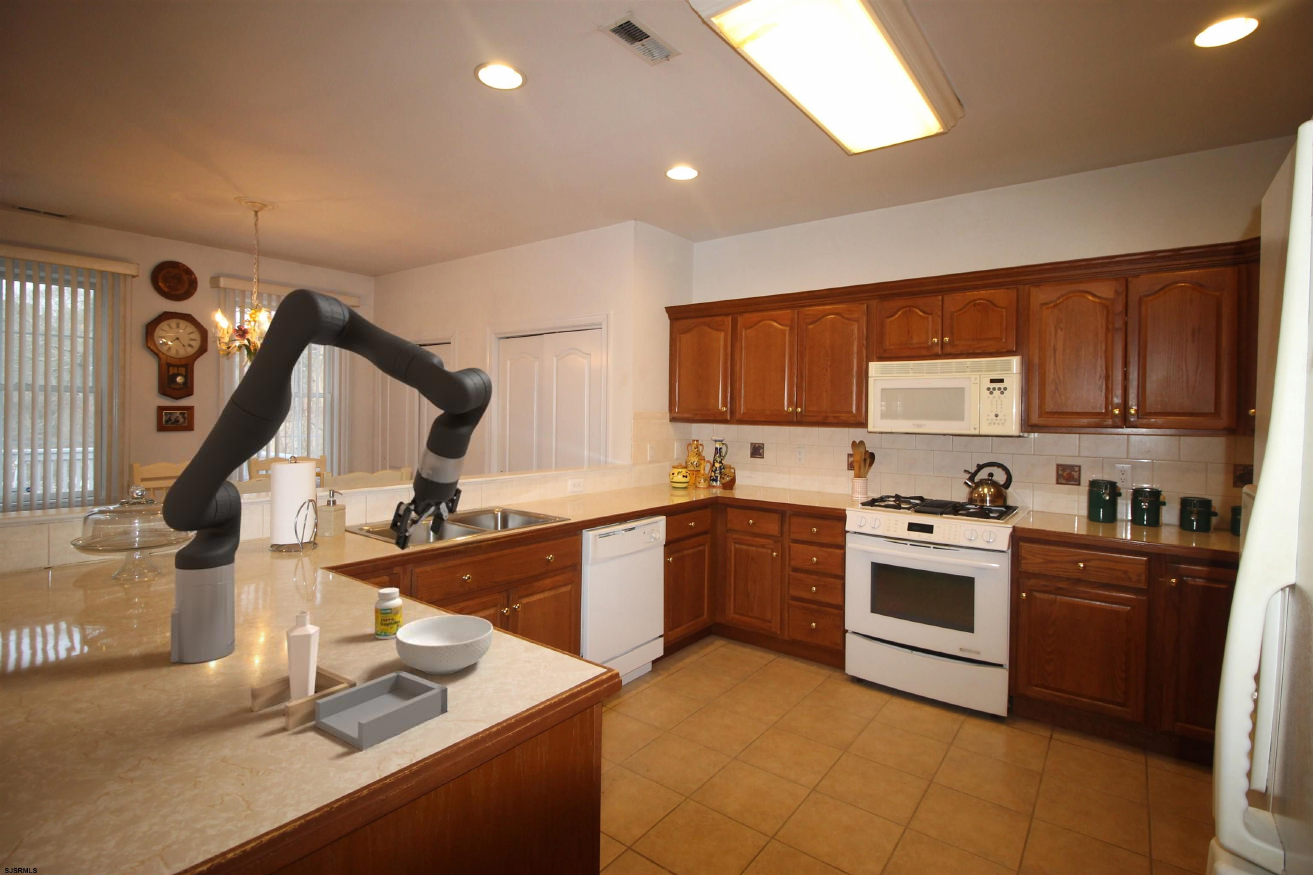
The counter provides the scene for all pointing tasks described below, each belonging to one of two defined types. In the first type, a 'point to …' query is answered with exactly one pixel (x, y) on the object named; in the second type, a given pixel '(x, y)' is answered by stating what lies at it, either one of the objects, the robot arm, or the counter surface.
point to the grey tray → (380, 708)
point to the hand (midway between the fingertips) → (418, 539)
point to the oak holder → (302, 708)
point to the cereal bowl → (444, 642)
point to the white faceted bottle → (302, 656)
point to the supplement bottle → (388, 613)
